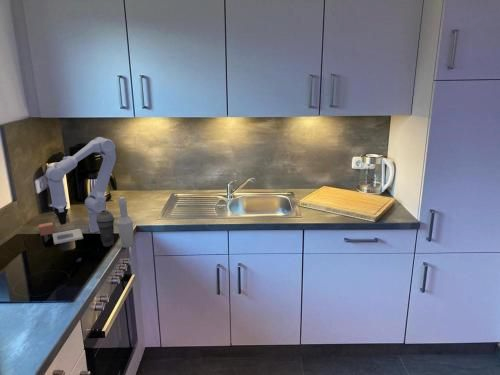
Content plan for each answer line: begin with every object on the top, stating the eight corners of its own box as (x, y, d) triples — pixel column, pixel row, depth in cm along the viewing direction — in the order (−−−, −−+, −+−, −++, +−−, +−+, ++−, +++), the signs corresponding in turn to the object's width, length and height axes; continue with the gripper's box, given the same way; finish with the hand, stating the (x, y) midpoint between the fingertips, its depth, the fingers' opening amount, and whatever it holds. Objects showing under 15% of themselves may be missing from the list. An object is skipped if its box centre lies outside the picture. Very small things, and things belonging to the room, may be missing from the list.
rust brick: (40, 233, 194) (38, 224, 192) (54, 230, 196) (52, 222, 195) (40, 236, 190) (38, 227, 189) (54, 233, 193) (53, 224, 192)
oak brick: (55, 225, 185) (53, 216, 184) (69, 223, 188) (68, 214, 186) (56, 228, 182) (54, 219, 180) (70, 226, 184) (69, 216, 183)
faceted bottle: (137, 242, 180) (131, 195, 174) (132, 248, 174) (127, 200, 168) (122, 242, 181) (117, 195, 174) (118, 248, 175) (111, 200, 168)
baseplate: (80, 230, 195) (79, 228, 195) (83, 238, 186) (82, 236, 186) (52, 235, 190) (52, 233, 190) (54, 244, 181) (53, 242, 180)
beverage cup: (106, 240, 184) (100, 197, 178) (120, 241, 182) (115, 199, 176) (96, 246, 177) (89, 203, 171) (110, 248, 175) (104, 204, 169)
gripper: (47, 191, 185) (52, 219, 189) (48, 199, 172) (54, 229, 176) (64, 188, 188) (68, 216, 192) (67, 197, 176) (71, 226, 180)
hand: (62, 222), depth 184 cm, fingers closed on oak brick, 4 cm apart
